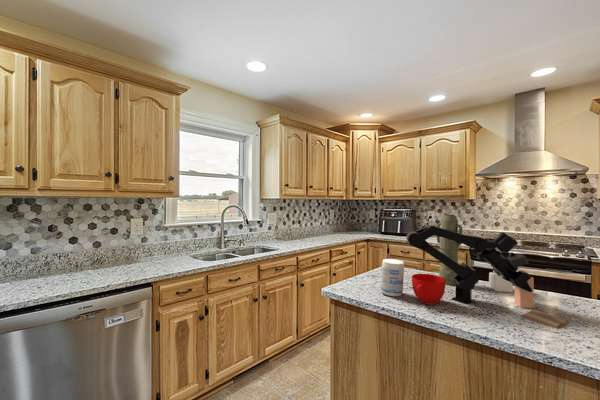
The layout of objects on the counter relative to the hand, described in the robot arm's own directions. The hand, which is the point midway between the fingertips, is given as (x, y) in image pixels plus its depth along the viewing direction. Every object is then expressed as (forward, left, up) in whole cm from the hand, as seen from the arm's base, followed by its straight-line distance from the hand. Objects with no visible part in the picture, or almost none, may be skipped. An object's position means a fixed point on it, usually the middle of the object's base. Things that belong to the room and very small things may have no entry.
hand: (527, 289), depth 113 cm
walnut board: (-10, -9, -7) cm, 15 cm away
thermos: (+1, +34, -7) cm, 35 cm away
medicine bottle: (+13, +16, -7) cm, 22 cm away
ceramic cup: (-33, +22, -7) cm, 40 cm away
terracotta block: (-1, +1, -7) cm, 7 cm away
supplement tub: (-37, +37, -7) cm, 53 cm away
